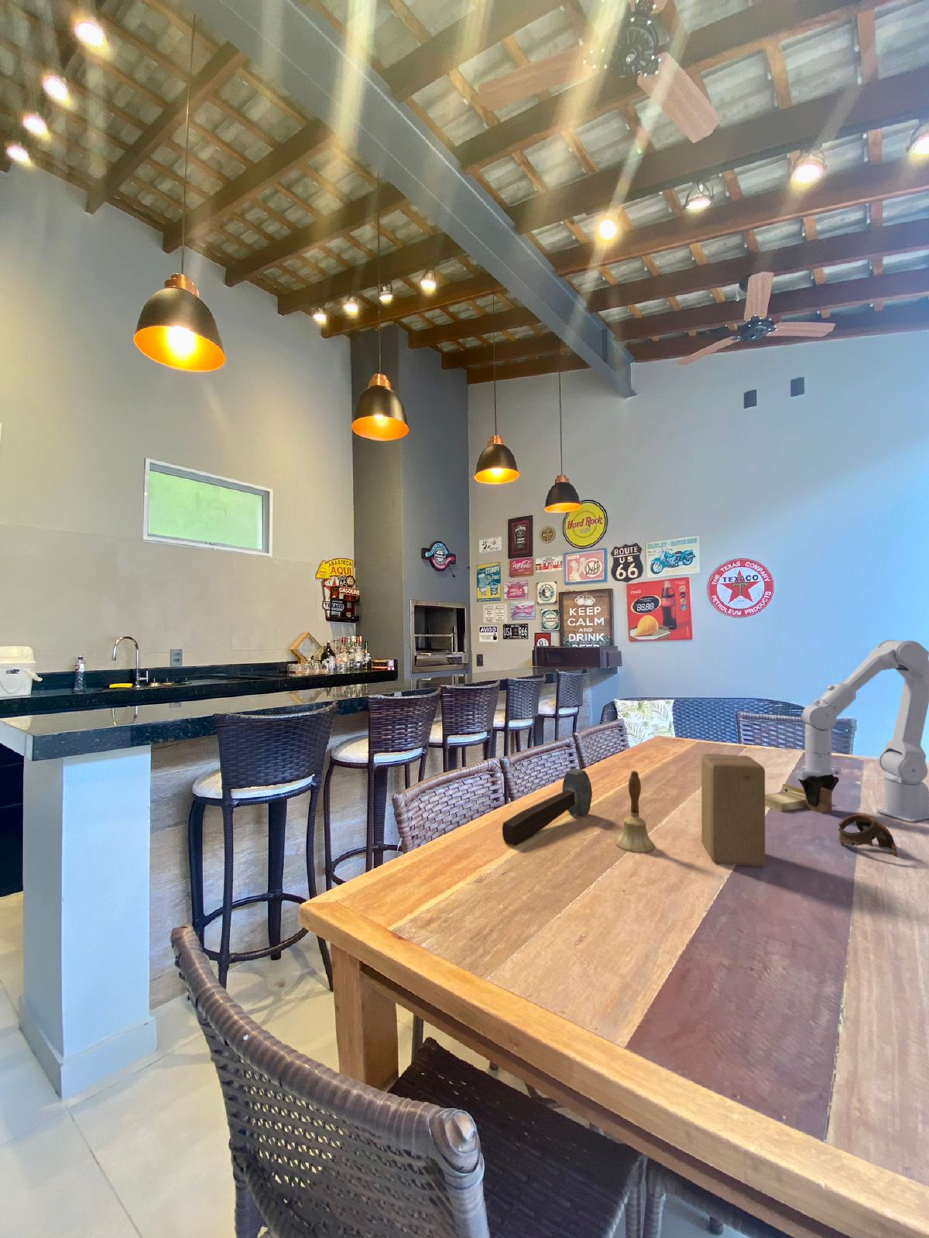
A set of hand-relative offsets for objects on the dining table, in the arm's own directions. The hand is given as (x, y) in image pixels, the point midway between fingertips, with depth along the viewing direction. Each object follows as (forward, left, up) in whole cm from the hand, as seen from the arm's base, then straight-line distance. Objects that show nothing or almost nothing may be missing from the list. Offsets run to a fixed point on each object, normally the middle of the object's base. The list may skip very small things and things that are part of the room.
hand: (818, 804), depth 139 cm
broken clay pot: (+14, +20, -2) cm, 24 cm away
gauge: (0, -4, -1) cm, 4 cm away
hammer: (+71, -15, -2) cm, 73 cm away
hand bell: (+59, +1, -2) cm, 59 cm away
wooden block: (+44, +13, -2) cm, 46 cm away
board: (+2, -6, -1) cm, 6 cm away
